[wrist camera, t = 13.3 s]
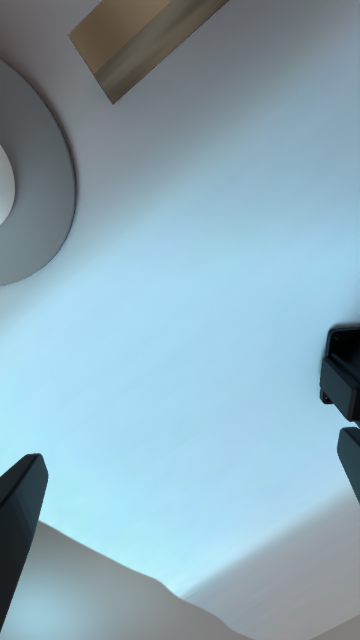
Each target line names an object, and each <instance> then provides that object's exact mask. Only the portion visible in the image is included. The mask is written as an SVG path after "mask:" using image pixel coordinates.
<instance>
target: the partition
mask: <svg viewBox="0 0 360 640" xmlns="http://www.w3.org/2000/svg"><path fill="white" fill-rule="evenodd" d="M228 1H229V0H103V1H102V2H101V3H100V4H99V5H98V6H97V7H96V8H95V9H94V10H93V11H92V12H91V13H90V14H89V15H88V16H87V17H86V18H85V19H84V20H83V21H82V22H81V23H80V24H79V25H78V26H77V27H76V28H75V29H74V30H73V31H72V32H71V33H70V34H69V35H68V36H69V38H70V39H71V41H72V42H73V44H74V46H75V47H76V49H77V50H78V52H79V53H80V55H81V57H82V58H83V60H84V61H85V63H86V64H87V66H88V68H89V69H90V71H91V72H92V74H93V76H94V77H95V79H96V80H97V82H98V83H99V85H100V86H101V88H102V89H103V91H104V92H105V94H106V95H107V97H108V98H109V100H110V101H111V103H112V104H114V103H115V102H116V101H117V100H119V99H120V98H121V97H122V96H123V95H124V94H125V93H126V92H128V91H129V90H130V89H131V88H132V87H133V86H134V85H135V84H136V83H138V82H139V81H140V80H141V79H142V78H143V77H144V76H145V75H146V74H148V73H149V72H150V71H151V70H152V69H153V68H154V67H155V66H156V65H158V64H159V63H160V62H161V61H162V60H163V59H164V58H165V57H166V56H168V55H169V54H170V53H171V52H172V51H173V50H174V49H175V48H176V47H178V46H179V45H180V44H181V43H182V42H183V41H184V40H185V39H186V38H188V37H189V36H190V35H191V34H192V33H193V32H194V31H195V30H196V29H198V28H199V27H200V26H201V25H202V24H203V23H204V22H205V21H206V20H208V19H209V18H210V17H211V16H212V15H213V14H214V13H215V12H216V11H218V10H219V9H220V8H221V7H222V6H223V5H224V4H225V3H226V2H228Z"/></svg>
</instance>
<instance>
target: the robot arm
mask: <svg viewBox="0 0 360 640" xmlns="http://www.w3.org/2000/svg"><path fill="white" fill-rule="evenodd" d="M336 334H338V335H337V337H336V338H334V336H335V335H336ZM320 387H321V391H320V399H321V401H322V402H323V403H324V404H334V405H335V406H336V407H337V408H338V410H339V411H340V412H341V413H342V415H343V416H344V417H345V419H347V420H348V421H349V422H355V423H356V424H357V426H358V427H359V428H360V327H351V328H338V329H332V330H331V331H330V332H329V333H328V336H327V344H326V352H325V357H324V358H323V361H322V369H321V377H320ZM326 397H328V398H326ZM359 428H357V427H344V428H342V429H341V430H340V433H339V439H338V445H337V453H338V456H339V459H340V461H341V463H342V466H343V468H344V470H345V472H346V475H347V477H348V479H349V481H350V484H351V486H352V488H353V490H354V493H355V495H356V497H357V499H358V502H359V504H360V429H359ZM47 483H48V471H47V468H46V465H45V462H44V459H43V456H42V455H41V454H40V453H35V454H27V455H25V456H24V457H22V458H21V459H20V460H19V461H18V462H17V463H16V464H14V465H13V466H12V467H11V468H10V469H9V470H8V471H6V472H5V473H4V474H3V475H2V476H1V477H0V632H1V629H2V626H3V623H4V621H5V618H6V615H7V612H8V609H9V606H10V603H11V600H12V598H13V595H14V592H15V589H16V587H17V584H18V581H19V578H20V575H21V572H22V569H23V566H24V564H25V561H26V558H27V555H28V552H29V550H30V547H31V543H32V540H33V537H34V534H35V531H36V527H37V523H38V519H39V515H40V511H41V507H42V503H43V499H44V495H45V491H46V487H47Z"/></svg>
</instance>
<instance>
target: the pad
mask: <svg viewBox="0 0 360 640" xmlns="http://www.w3.org/2000/svg"><path fill="white" fill-rule="evenodd" d="M0 145H1V146H2V148H3V150H4V151H5V153H6V155H7V157H8V159H9V162H10V164H11V167H12V171H13V175H14V181H15V196H14V202H13V206H12V208H11V211H10V213H9V215H8V216H7V218H6V219H5V220H4V222H3V223H2V224H1V225H0V286H5V285H8V284H12V283H15V282H18V281H20V280H22V279H25V278H27V277H29V276H31V275H32V274H34V273H35V272H37V271H39V270H40V269H42V268H43V267H44V266H45V265H46V264H47V263H49V262H50V261H51V260H52V259H53V257H54V256H55V255H56V254H57V253H58V251H59V250H60V248H61V247H62V245H63V243H64V242H65V240H66V238H67V235H68V233H69V231H70V228H71V225H72V221H73V217H74V211H75V203H76V183H75V175H74V168H73V164H72V160H71V156H70V152H69V149H68V147H67V144H66V141H65V139H64V136H63V134H62V132H61V130H60V128H59V126H58V124H57V122H56V120H55V118H54V116H53V115H52V113H51V112H50V110H49V109H48V107H47V105H46V104H45V102H44V101H43V100H42V99H41V97H40V96H39V95H38V94H37V92H36V91H35V90H34V89H33V88H32V87H31V86H30V85H29V84H28V83H27V82H26V81H25V79H24V78H23V77H22V76H21V75H20V74H18V73H17V72H16V71H15V70H13V69H12V68H11V67H10V66H9V65H7V64H6V63H5V62H4V61H2V60H1V59H0Z"/></svg>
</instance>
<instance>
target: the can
mask: <svg viewBox="0 0 360 640" xmlns="http://www.w3.org/2000/svg"><path fill="white" fill-rule="evenodd" d="M14 196H15V181H14V175H13V171H12V167H11V164H10V162H9V159H8V157H7V155H6V153H5V151H4V150H3V148H2V146H1V145H0V225H1V224H2V223H3V222H4V220H5V219H6V218H7V216H8V215H9V213H10V211H11V208H12V206H13V202H14Z"/></svg>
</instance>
